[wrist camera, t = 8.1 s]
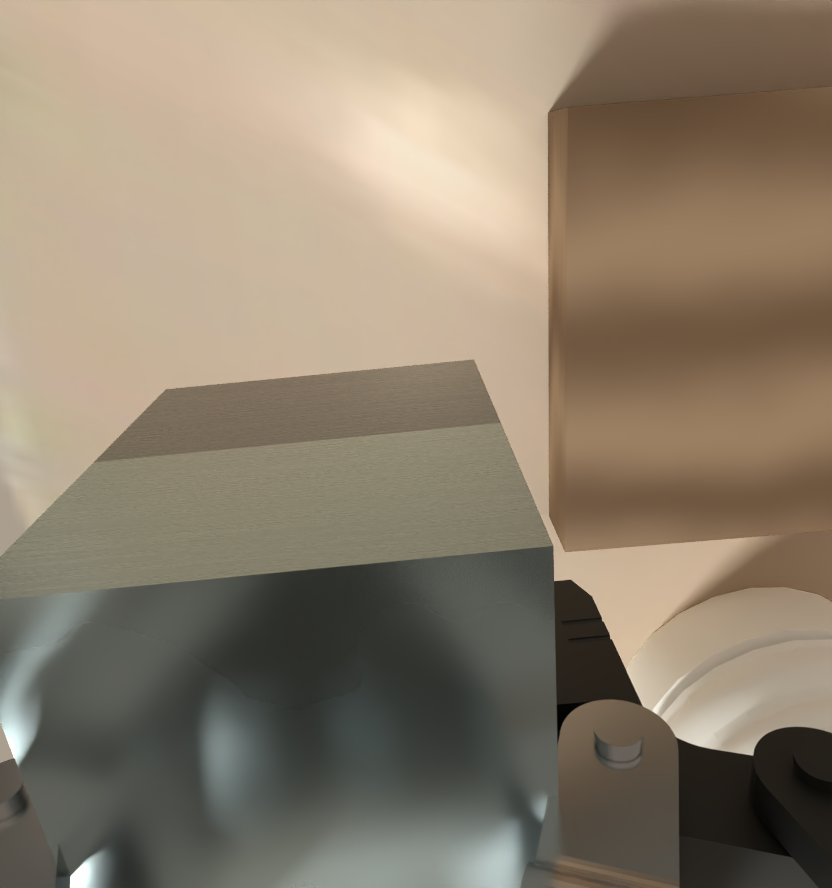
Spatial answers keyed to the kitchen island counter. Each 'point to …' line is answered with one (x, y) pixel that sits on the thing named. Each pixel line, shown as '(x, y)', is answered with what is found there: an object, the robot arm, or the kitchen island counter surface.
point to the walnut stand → (690, 319)
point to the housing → (290, 642)
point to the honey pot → (740, 668)
